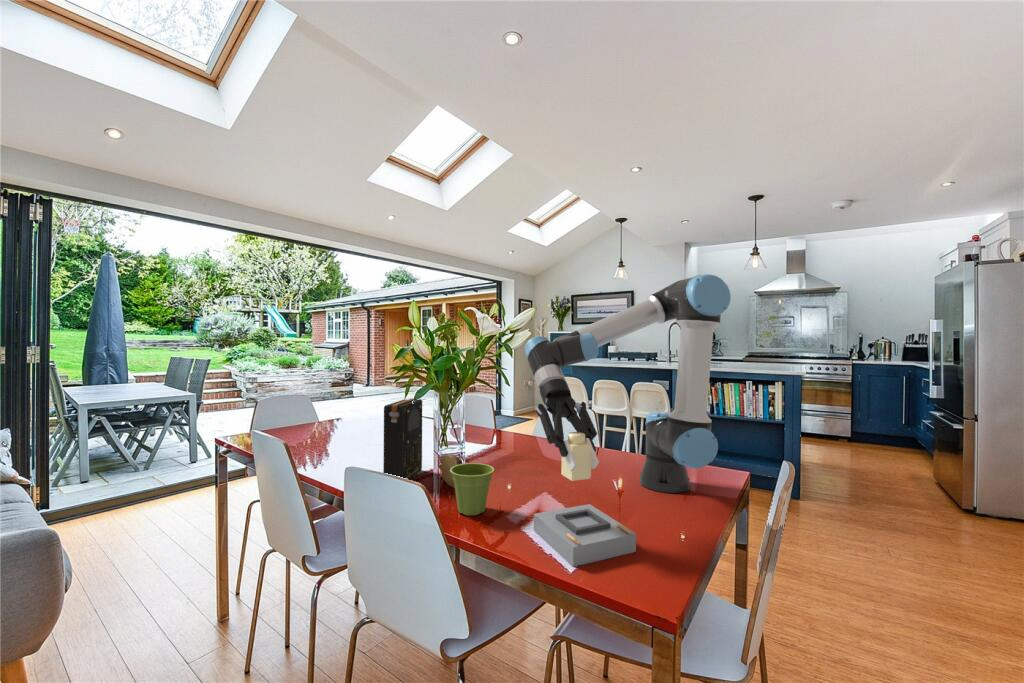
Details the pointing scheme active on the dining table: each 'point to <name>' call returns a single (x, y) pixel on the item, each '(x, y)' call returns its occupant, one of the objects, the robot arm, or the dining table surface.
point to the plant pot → (471, 486)
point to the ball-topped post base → (584, 534)
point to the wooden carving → (449, 467)
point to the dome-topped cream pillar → (578, 458)
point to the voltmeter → (403, 438)
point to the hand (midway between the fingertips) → (584, 466)
